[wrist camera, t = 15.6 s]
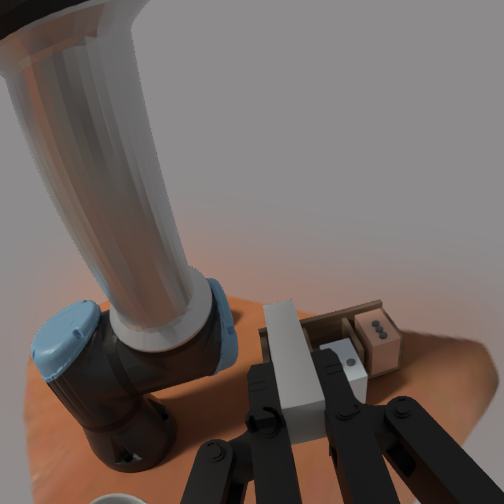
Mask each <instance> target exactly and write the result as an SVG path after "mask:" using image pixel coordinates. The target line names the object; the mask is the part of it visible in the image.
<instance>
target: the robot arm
mask: <svg viewBox="0 0 504 504" xmlns="http://www.w3.org/2000/svg"><path fill="white" fill-rule="evenodd" d="M148 1H149V0H0V75H1V76H2V77H4V78H5V80H6V84H7V87H8V91H9V94H10V97H11V100H12V103H13V106H14V110H15V113H16V116H17V119H18V121H19V124H20V127H21V130H22V133H23V135H24V138H25V140H26V143H27V146H28V148H29V150H30V153H31V156H32V158H33V160H34V163H35V165H36V167H37V170H38V172H39V174H40V177H41V179H42V181H43V183H44V185H45V187H46V190H47V192H48V194H49V196H50V198H51V200H52V202H53V204H54V206H55V208H56V210H57V212H58V214H59V216H60V218H61V220H62V222H63V224H64V225H65V227H66V229H67V231H68V233H69V235H70V236H71V239H72V240H73V242H74V244H75V245H76V247H77V249H78V251H79V253H80V254H81V256H82V258H83V259H84V261H85V263H86V265H87V266H88V268H89V270H90V271H91V273H92V274H93V276H94V278H95V279H96V281H97V282H98V284H99V286H100V287H101V289H102V290H103V292H104V293H105V295H106V296H107V298H108V299H109V301H110V302H111V305H110V310H107V311H104V312H101V309H100V307H99V306H98V305H97V304H96V303H95V302H93V301H91V300H89V301H86V300H83V301H79V302H76V303H74V304H71V305H70V306H68V307H66V308H64V309H63V310H61V311H59V312H58V313H57V314H55V315H54V316H53V317H51V318H50V319H49V320H48V321H47V322H46V323H45V324H44V325H43V326H42V328H41V329H40V330H39V331H38V333H37V334H36V336H35V338H34V340H33V342H32V345H31V357H32V360H33V362H34V363H35V365H36V367H37V369H38V370H39V372H40V374H41V376H42V379H43V380H44V381H45V382H46V383H47V384H48V386H49V387H50V388H51V390H52V391H53V392H54V394H55V395H56V396H57V397H58V399H59V400H60V401H61V402H62V404H63V405H64V406H65V407H66V408H67V410H68V411H69V412H70V413H71V414H72V415H73V417H74V418H75V419H76V420H77V421H78V422H79V423H80V425H81V426H82V427H83V430H84V432H85V434H86V437H87V439H88V442H89V444H90V446H91V448H92V450H93V452H94V453H95V455H96V456H97V457H98V458H99V459H100V460H101V461H102V462H103V463H104V464H105V465H107V466H108V467H110V468H111V469H113V470H116V471H120V472H128V473H129V472H138V471H142V470H145V469H148V468H150V467H152V466H154V465H155V464H157V463H158V462H160V461H161V460H162V459H163V458H164V457H165V456H166V455H167V454H168V452H169V451H170V449H171V448H172V446H173V444H174V441H175V438H176V423H175V420H174V417H173V416H172V414H171V413H170V411H169V410H168V408H167V407H166V405H165V404H164V403H163V402H161V401H160V400H159V399H157V398H156V397H155V396H153V395H152V394H150V393H151V392H155V391H159V390H162V389H166V388H169V387H173V386H176V385H180V384H183V383H186V382H189V381H193V380H196V379H199V378H202V377H205V376H213V375H215V374H217V373H218V372H219V371H222V370H224V369H227V368H229V367H231V366H232V365H234V363H235V362H236V360H237V357H238V340H237V334H236V331H235V329H234V321H233V317H232V313H231V310H230V306H229V303H228V301H227V298H226V296H225V293H224V291H223V289H222V287H221V285H220V284H219V282H218V281H217V280H215V279H213V278H208V279H207V278H205V277H204V276H203V275H202V273H201V272H199V271H198V270H197V269H195V268H193V267H191V266H189V265H188V263H187V260H186V257H185V254H184V251H183V247H182V244H181V241H180V237H179V234H178V231H177V227H176V224H175V220H174V217H173V213H172V210H171V206H170V203H169V199H168V195H167V192H166V188H165V184H164V180H163V177H162V173H161V169H160V165H159V161H158V157H157V153H156V149H155V145H154V141H153V137H152V132H151V128H150V124H149V120H148V115H147V111H146V106H145V101H144V97H143V92H142V87H141V82H140V77H139V72H138V67H137V62H136V57H135V51H134V46H133V40H132V34H131V25H132V23H133V21H134V19H135V18H136V17H137V15H138V14H139V13H140V11H141V10H142V9H143V7H144V6H145V5H146V4H147V3H148ZM263 309H264V315H265V320H266V326H267V331H268V337H269V342H270V348H271V353H272V359H273V362H268V363H262V364H257V365H252V366H251V367H250V370H249V372H248V374H247V378H248V390H249V402H250V411H249V412H248V414H247V415H246V419H245V423H246V425H247V428H248V430H247V431H246V432H245V433H244V434H243V435H241V436H239V437H237V438H235V439H232V440H230V441H228V442H226V441H224V440H220V439H213V440H210V441H207V442H205V443H204V444H203V445H201V446H200V448H199V450H198V452H197V455H196V458H195V461H194V464H193V467H192V470H191V473H190V476H189V479H188V482H187V485H186V488H185V491H184V494H183V497H182V500H181V503H180V504H244V499H245V495H246V490H247V485H248V482H249V481H252V480H254V484H255V494H256V504H302V499H301V493H300V488H299V483H298V478H297V473H296V467H295V462H294V457H293V453H292V448H291V445H293V444H298V443H302V442H307V441H311V440H316V439H320V438H324V437H328V440H329V456H331V457H332V460H333V464H334V468H335V472H336V475H337V479H338V483H339V486H340V490H341V494H342V498H343V502H344V504H400V501H399V499H398V496H397V493H396V490H395V488H394V485H393V482H392V479H391V477H390V474H389V471H388V469H387V466H386V464H385V461H384V458H383V456H384V457H385V458H386V460H387V461H388V462H389V463H390V465H391V466H392V467H393V469H394V470H395V471H396V472H397V474H398V475H399V476H400V478H401V479H402V480H403V481H404V483H405V484H406V485H407V487H408V488H409V489H410V490H411V492H412V493H413V494H414V496H415V497H416V498H417V499H418V501H419V502H420V503H421V504H504V492H503V491H502V490H501V489H500V488H499V487H498V486H497V485H496V484H495V483H494V482H493V481H492V479H491V478H490V477H489V476H488V475H487V474H486V473H485V472H484V471H483V470H482V469H481V468H480V467H479V466H478V465H477V464H476V463H475V462H474V461H473V459H472V458H471V457H470V456H469V455H468V454H467V453H466V452H465V451H464V450H463V449H462V448H461V447H460V446H459V445H458V444H457V443H456V442H455V441H454V439H453V438H452V437H451V436H450V435H449V434H448V433H447V432H446V431H445V430H444V429H443V428H442V427H441V426H440V425H439V424H438V423H437V422H436V421H435V420H434V419H433V418H432V417H431V416H430V415H429V414H428V413H427V412H426V410H425V409H424V408H423V407H422V406H421V405H420V404H419V403H418V402H417V401H416V400H414V399H413V398H411V397H407V396H398V397H396V398H393V399H392V400H391V401H389V402H388V404H387V405H376V406H373V405H366V404H363V403H361V402H360V401H359V400H358V399H356V397H355V395H354V393H353V391H352V388H351V386H350V383H349V381H348V379H347V376H346V374H345V371H344V369H343V367H342V364H341V362H340V360H339V357H338V355H337V354H336V353H335V352H334V351H333V350H332V349H330V348H326V349H322V350H318V351H314V352H309V349H308V346H307V343H306V340H305V337H304V334H303V331H302V328H301V325H300V322H299V319H298V316H297V313H296V310H295V307H294V304H293V301H292V299H291V300H286V301H282V302H277V303H273V304H267V305H263ZM382 454H383V456H382Z"/></svg>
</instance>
